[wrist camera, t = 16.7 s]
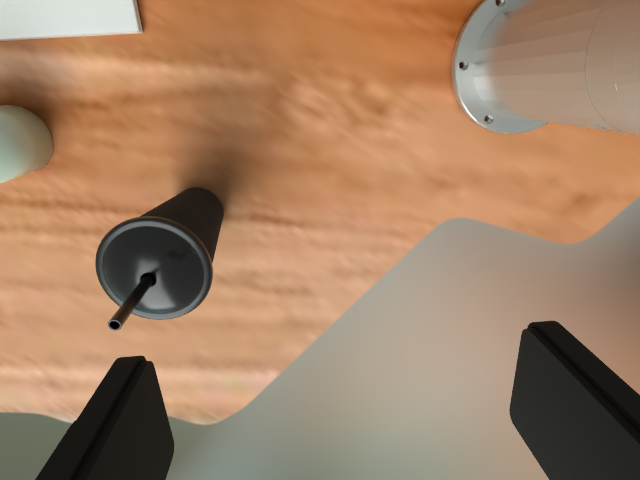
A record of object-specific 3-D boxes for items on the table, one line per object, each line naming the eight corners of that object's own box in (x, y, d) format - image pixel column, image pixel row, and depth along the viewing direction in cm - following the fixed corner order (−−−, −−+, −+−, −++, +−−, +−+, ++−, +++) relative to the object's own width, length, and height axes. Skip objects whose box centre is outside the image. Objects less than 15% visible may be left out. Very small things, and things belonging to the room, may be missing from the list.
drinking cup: (193, 260, 41) (111, 404, 22) (143, 201, 38) (3, 309, 20) (253, 221, 40) (218, 340, 21) (205, 158, 37) (118, 230, 19)
